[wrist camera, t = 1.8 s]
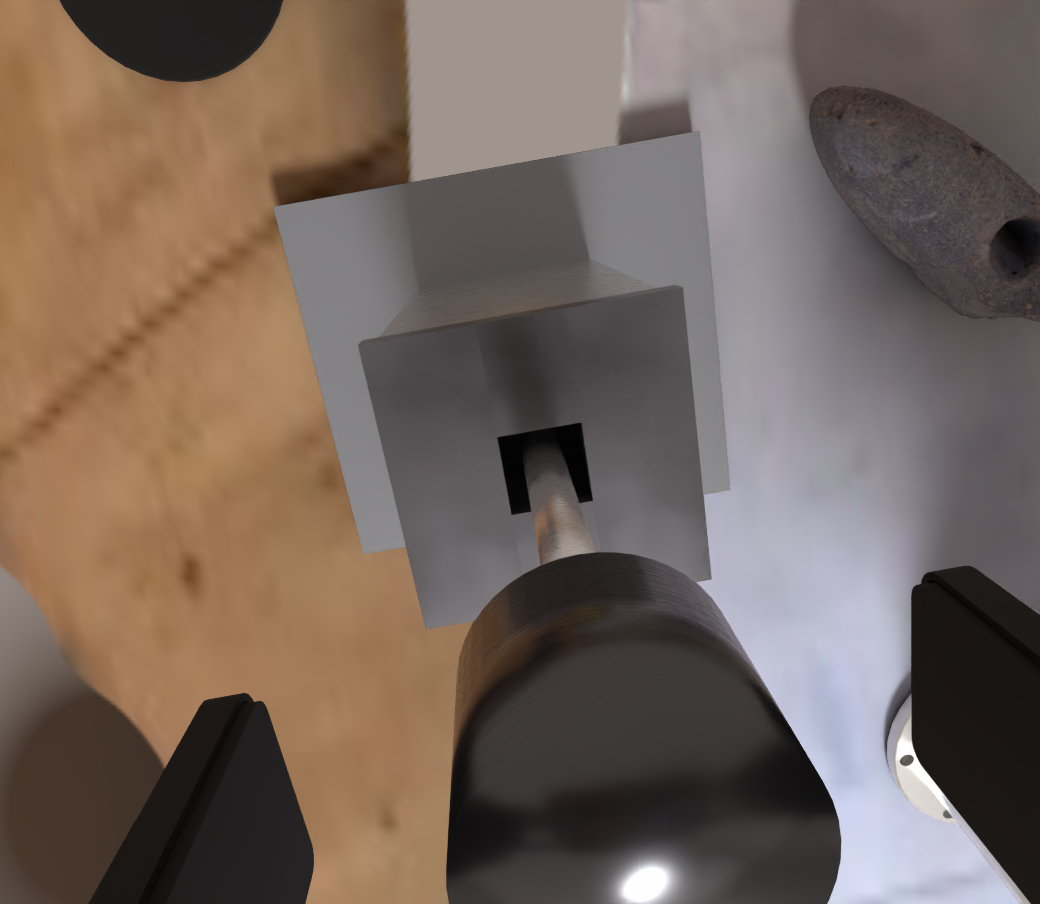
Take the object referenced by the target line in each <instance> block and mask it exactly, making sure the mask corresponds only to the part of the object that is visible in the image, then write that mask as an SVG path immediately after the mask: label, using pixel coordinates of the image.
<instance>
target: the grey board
mask: <svg viewBox="0 0 1040 904" xmlns="http://www.w3.org/2000/svg"><path fill="white" fill-rule="evenodd" d="M274 211H275V215H276V219H277V223H278V226H279V230H280V234H281V238H282V242H283V246H284V250H285V253H286V257H287V261H288V265H289V269H290V273H291V277H292V280H293V284H294V288H295V292H296V296H297V300H298V303H299V307H300V311H301V315H302V319H303V323H304V327H305V330H306V334H307V338H308V342H309V346H310V350H311V353H312V357H313V361H314V365H315V369H316V373H317V377H318V380H319V384H320V388H321V392H322V396H323V400H324V404H325V407H326V411H327V415H328V419H329V423H330V427H331V430H332V434H333V438H334V442H335V446H336V450H337V454H338V457H339V461H340V465H341V469H342V473H343V477H344V480H345V484H346V488H347V492H348V496H349V500H350V504H351V507H352V511H353V515H354V519H355V523H356V527H357V531H358V534H359V538H360V542H361V546H362V550H363V554H367V553H373V552H379V551H384V550H390V549H396V548H401V547H406V545H405V541H404V536H403V532H402V528H401V524H400V520H399V516H398V511H397V507H396V503H395V499H394V495H393V490H392V486H391V482H390V478H389V474H388V470H387V465H386V461H385V457H384V453H383V449H382V444H381V440H380V436H379V432H378V428H377V424H376V419H375V415H374V411H373V407H372V403H371V398H370V394H369V390H368V386H367V382H366V378H365V373H364V369H363V365H362V361H361V357H360V353H359V348H358V344H359V343H360V342H361V341H362V340H366V339H371V338H377V337H379V336H380V335H381V333H382V332H383V331H384V330H385V329H386V327H387V326H388V325H389V324H390V323H391V321H392V320H393V319H394V318H395V317H396V315H397V314H398V313H399V312H400V311H401V309H402V308H403V307H404V306H405V305H406V303H407V302H408V301H409V300H410V299H411V297H412V296H413V295H414V294H415V293H416V291H417V290H418V289H422V288H427V287H433V286H439V285H444V284H450V283H456V282H461V281H467V280H473V279H478V278H484V277H489V276H495V275H501V274H506V273H512V272H518V271H523V270H529V269H534V268H540V267H546V266H551V265H557V264H563V263H568V262H574V261H580V260H585V259H592V260H594V261H596V262H599V263H601V264H603V265H606V266H608V267H610V268H613V269H615V270H617V271H619V272H622V273H624V274H626V275H629V276H631V277H633V278H636V279H638V280H640V281H642V282H645V283H647V284H649V285H652V286H654V287H656V288H659V287H665V286H671V285H678V286H681V287H683V293H684V303H685V313H686V323H687V333H688V344H689V354H690V364H691V374H692V384H693V395H694V405H695V415H696V425H697V435H698V446H699V456H700V466H701V476H702V486H703V495H704V494H709V493H715V492H721V491H726V490H730V481H729V470H728V458H727V446H726V435H725V423H724V411H723V400H722V388H721V376H720V365H719V353H718V341H717V329H716V318H715V306H714V294H713V283H712V271H711V259H710V248H709V236H708V224H707V213H706V201H705V189H704V178H703V166H702V154H701V143H700V131H696V132H690V133H685V134H679V135H674V136H668V137H662V138H657V139H651V140H646V141H640V142H634V143H629V144H623V145H618V146H612V147H606V148H601V149H595V150H590V151H584V152H578V153H573V154H567V155H562V156H556V157H550V158H545V159H539V160H533V161H528V162H522V163H517V164H511V165H506V166H500V167H494V168H489V169H483V170H478V171H472V172H466V173H461V174H456V175H449V176H444V177H439V178H433V179H427V180H421V181H416V182H410V183H405V184H399V185H393V186H388V187H382V188H377V189H371V190H365V191H360V192H354V193H349V194H343V195H337V196H332V197H326V198H321V199H315V200H309V201H304V202H298V203H293V204H287V205H281V206H276V207H274Z"/></svg>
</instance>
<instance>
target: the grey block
mask: <svg viewBox="0 0 1040 904" xmlns="http://www.w3.org/2000/svg"><path fill="white" fill-rule="evenodd" d="M358 348H359V353H360V357H361V361H362V365H363V369H364V373H365V378H366V382H367V386H368V390H369V394H370V398H371V403H372V407H373V411H374V415H375V419H376V424H377V428H378V432H379V436H380V440H381V444H382V449H383V453H384V457H385V461H386V465H387V470H388V474H389V478H390V482H391V486H392V490H393V495H394V499H395V503H396V507H397V511H398V516H399V520H400V524H401V528H402V532H403V536H404V541H405V545H406V549H407V553H408V557H409V562H410V566H411V570H412V574H413V578H414V582H415V587H416V591H417V595H418V599H419V603H420V608H421V612H422V616H423V620H424V624H425V628H426V629H430V628H436V627H441V626H447V625H453V624H458V623H464V622H470V621H475V620H476V618H477V617H478V615H479V614H480V612H481V611H482V610H483V609H484V607H485V606H486V605H487V604H488V603H489V602H490V601H491V599H492V598H493V597H494V596H495V595H497V594H498V593H499V592H500V591H501V590H502V589H503V588H505V587H506V586H507V585H508V584H510V583H511V582H513V581H514V580H515V579H517V578H518V577H520V576H521V575H523V574H525V573H527V572H529V571H531V570H533V569H535V568H537V567H539V566H540V562H539V555H538V549H537V543H536V537H535V531H534V525H533V519H532V512H531V506H530V500H529V494H528V488H527V482H526V476H525V469H524V463H523V457H522V451H521V445H520V439H519V433H524V432H529V431H535V430H541V429H546V428H552V427H554V429H555V432H556V435H557V438H558V441H559V444H560V447H561V450H562V453H563V456H564V459H565V462H566V465H567V468H568V471H569V474H570V477H571V480H572V483H573V486H574V489H575V492H576V495H577V498H578V501H579V504H580V507H581V510H582V513H583V516H584V519H585V522H586V525H587V528H588V531H589V534H590V537H591V540H592V543H593V546H594V549H595V552H617V553H625V554H633V555H638V556H642V557H646V558H650V559H653V560H656V561H658V562H661V563H663V564H666V565H668V566H671V567H672V568H674V569H676V570H678V571H680V572H681V573H683V574H685V575H686V576H688V577H689V578H690V579H692V580H693V581H694V582H699V581H705V580H711V579H712V578H711V568H710V558H709V548H708V537H707V527H706V517H705V507H704V497H703V486H702V476H701V466H700V456H699V446H698V435H697V425H696V415H695V405H694V395H693V384H692V374H691V364H690V354H689V344H688V333H687V323H686V313H685V303H684V293H683V287H681V286H678V285H671V286H665V287H659V288H656V287H654V286H652V285H649V284H647V283H645V282H642V281H640V280H638V279H636V278H633V277H631V276H629V275H626V274H624V273H622V272H619V271H617V270H615V269H613V268H610V267H608V266H606V265H603V264H601V263H599V262H596V261H594V260H592V259H585V260H580V261H574V262H568V263H563V264H557V265H551V266H546V267H540V268H534V269H529V270H523V271H518V272H512V273H506V274H501V275H495V276H489V277H484V278H478V279H473V280H467V281H461V282H456V283H450V284H444V285H439V286H433V287H427V288H422V289H418V290H417V291H416V293H415V294H414V295H413V296H412V297H411V299H410V300H409V301H408V302H407V303H406V305H405V306H404V307H403V308H402V309H401V311H400V312H399V313H398V314H397V315H396V317H395V318H394V319H393V320H392V321H391V323H390V324H389V325H388V326H387V327H386V329H385V330H384V331H383V332H382V333H381V335H380V336H379V337H377V338H371V339H366V340H362V341H361V342H360V343H359V344H358Z"/></svg>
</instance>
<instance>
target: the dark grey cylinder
mask: <svg viewBox="0 0 1040 904" xmlns="http://www.w3.org/2000/svg"><path fill="white" fill-rule="evenodd" d="M519 439H520V445H521V451H522V457H523V463H524V469H525V476H526V482H527V488H528V494H529V500H530V506H531V512H532V519H533V525H534V531H535V537H536V543H537V549H538V555H539V562H540V566H539V567H537V568H535V569H533V570H531V571H529V572H527V573H525V574H523V575H521V576H520V577H518V578H517V579H515V580H514V581H513V582H511V583H510V584H508V585H507V586H506V587H505V588H503V589H502V590H501V591H500V592H499V593H498V594H497V595H495V596H494V597H493V598H492V599H491V601H490V602H489V603H488V604H487V605H486V606H485V607H484V609H483V610H482V611H481V612H480V614H479V615H478V617H477V618H476V620H475V621H474V623H473V624H472V626H471V628H470V630H469V632H468V634H467V637H466V639H465V641H464V644H463V647H462V650H461V654H460V657H459V664H458V670H457V684H456V703H455V721H454V739H453V757H452V775H451V793H450V811H449V829H448V848H447V866H446V888H447V894H448V900H449V904H827V903H828V901H829V899H830V896H831V893H832V891H833V888H834V885H835V882H836V879H837V874H838V870H839V865H840V858H841V835H840V827H839V820H838V816H837V813H836V810H835V807H834V803H833V800H832V798H831V796H830V794H829V792H828V790H827V789H826V787H825V785H824V783H823V781H822V779H821V778H820V776H819V774H818V772H817V771H816V769H815V767H814V766H813V764H812V762H811V761H810V759H809V757H808V756H807V754H806V752H805V751H804V749H803V747H802V746H801V744H800V742H799V741H798V739H797V737H796V736H795V734H794V732H793V731H792V729H791V727H790V726H789V724H788V722H787V721H786V719H785V717H784V716H783V714H782V712H781V711H780V709H779V707H778V706H777V704H776V702H775V701H774V699H773V697H772V696H771V694H770V692H769V690H768V689H767V687H766V685H765V684H764V682H763V680H762V679H761V677H760V675H759V674H758V672H757V670H756V669H755V667H754V665H753V664H752V662H751V660H750V659H749V657H748V655H747V654H746V652H745V650H744V649H743V647H742V645H741V644H740V642H739V640H738V639H737V637H736V635H735V634H734V632H733V630H732V629H731V627H730V625H729V624H728V622H727V620H726V619H725V617H724V615H723V614H722V612H721V610H720V609H719V608H718V606H717V605H716V603H715V602H714V601H713V599H712V598H711V597H710V596H709V595H708V594H707V593H706V592H705V591H704V590H703V589H702V588H701V587H700V586H699V585H698V584H697V583H696V582H694V581H693V580H692V579H690V578H689V577H688V576H686V575H685V574H683V573H681V572H680V571H678V570H676V569H674V568H672V567H671V566H668V565H666V564H663V563H661V562H658V561H656V560H653V559H650V558H646V557H642V556H638V555H633V554H625V553H617V552H595V549H594V546H593V543H592V540H591V537H590V534H589V531H588V528H587V525H586V522H585V519H584V516H583V513H582V510H581V507H580V504H579V501H578V498H577V495H576V492H575V489H574V486H573V483H572V480H571V477H570V474H569V471H568V468H567V465H566V462H565V459H564V456H563V453H562V450H561V447H560V444H559V441H558V438H557V435H556V432H555V429H554V427H552V428H546V429H541V430H535V431H529V432H524V433H519Z"/></svg>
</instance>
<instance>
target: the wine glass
mask: <svg viewBox="0 0 1040 904" xmlns="http://www.w3.org/2000/svg"><path fill="white" fill-rule="evenodd" d="M60 2H61V4H62V6H63V8H64V9H65V11H66V12H67V14H68V15H69V16H70V18H71V19H72V20H73V22H74V23H75V25H76V26H77V27H78V28H79V29H80V30H81V31H82V33H83V34H84V35H85V36H86V37H87V38H88V39H89V40H90V41H91V42H92V43H93V44H94V45H95V46H97V47H98V48H99V49H100V50H102V51H103V52H104V53H105V54H106V55H108V56H109V57H111V58H112V59H114V60H115V61H117V62H119V63H120V64H122V65H124V66H125V67H127V68H130V69H132V70H134V71H137V72H139V73H141V74H144V75H146V76H150V77H154V78H157V79H161V80H166V81H177V82H190V81H201V80H205V79H209V78H213V77H217V76H219V75H221V74H224V73H226V72H228V71H230V70H232V69H234V68H236V67H237V66H238V65H240V64H241V63H243V62H244V61H245V60H247V59H248V58H249V57H250V56H251V55H252V54H253V53H254V52H255V51H256V50H257V49H258V48H259V47H260V46H261V45H262V43H263V42H264V40H265V39H266V37H267V36H268V34H269V33H270V31H271V30H272V28H273V25H274V23H275V21H276V19H277V17H278V15H279V13H280V9H281V5H282V2H283V0H60Z"/></svg>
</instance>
